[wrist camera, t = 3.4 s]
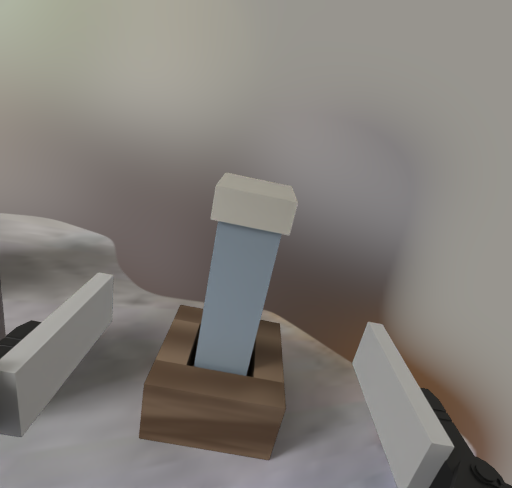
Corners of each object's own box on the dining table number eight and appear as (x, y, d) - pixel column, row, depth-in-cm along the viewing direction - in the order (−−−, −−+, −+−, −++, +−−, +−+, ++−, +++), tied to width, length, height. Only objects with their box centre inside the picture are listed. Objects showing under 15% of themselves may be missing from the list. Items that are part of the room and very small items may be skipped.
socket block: (269, 460, 27) (285, 408, 24) (138, 438, 26) (144, 383, 24) (268, 365, 37) (279, 323, 35) (174, 348, 36) (180, 304, 34)
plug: (242, 418, 29) (297, 202, 21) (180, 407, 28) (215, 185, 21) (245, 372, 34) (291, 186, 26) (194, 362, 34) (225, 172, 26)
